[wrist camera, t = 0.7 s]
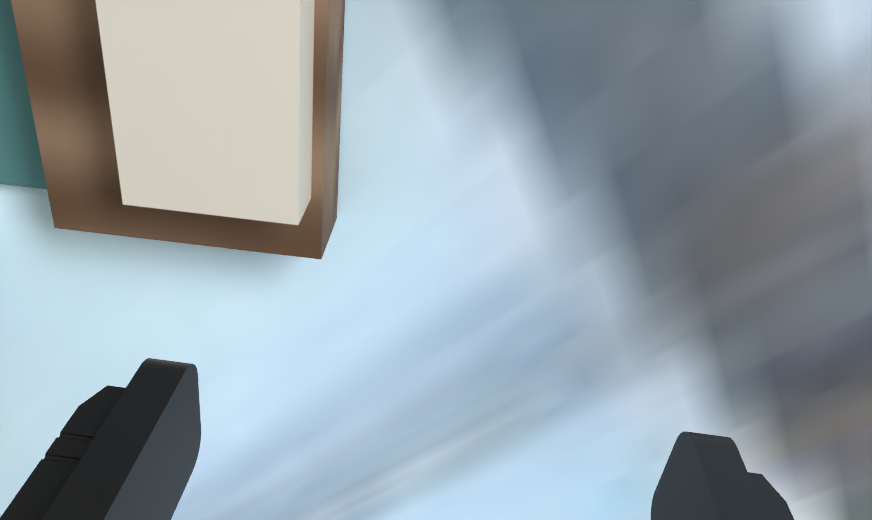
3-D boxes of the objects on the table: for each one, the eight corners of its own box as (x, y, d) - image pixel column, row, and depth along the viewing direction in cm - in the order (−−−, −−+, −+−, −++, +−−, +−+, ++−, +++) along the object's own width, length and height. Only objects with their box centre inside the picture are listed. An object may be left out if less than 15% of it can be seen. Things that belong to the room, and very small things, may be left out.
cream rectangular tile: (119, -79, 25) (85, -71, 23) (315, -55, 25) (300, -45, 23) (147, 178, 30) (122, 204, 28) (311, 197, 31) (298, 225, 28)
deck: (37, -190, 27) (-27, -193, 24) (350, -151, 27) (331, -150, 24) (96, 190, 35) (54, 227, 32) (336, 218, 35) (321, 259, 32)
